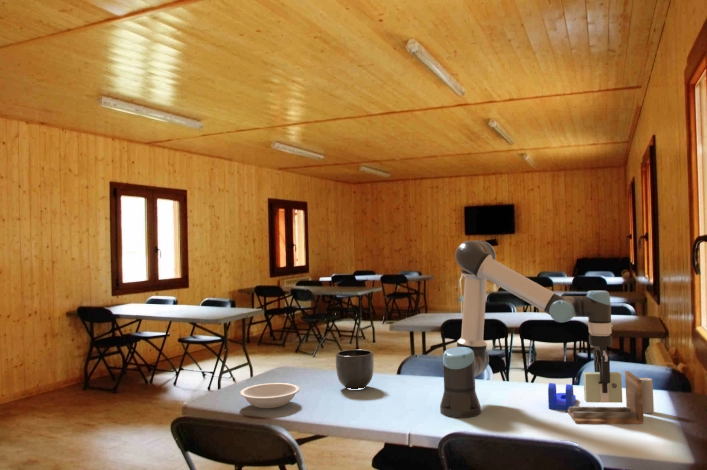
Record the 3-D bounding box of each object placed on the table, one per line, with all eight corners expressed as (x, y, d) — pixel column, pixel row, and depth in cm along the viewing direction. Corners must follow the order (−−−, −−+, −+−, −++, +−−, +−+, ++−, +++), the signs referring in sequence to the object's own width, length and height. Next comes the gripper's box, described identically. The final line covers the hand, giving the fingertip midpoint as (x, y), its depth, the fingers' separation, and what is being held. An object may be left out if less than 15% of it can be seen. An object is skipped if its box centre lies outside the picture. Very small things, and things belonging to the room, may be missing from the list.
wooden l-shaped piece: (575, 423, 199) (574, 379, 199) (567, 411, 212) (565, 371, 213) (643, 424, 195) (641, 380, 195) (630, 412, 209) (628, 371, 209)
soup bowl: (228, 408, 232) (228, 391, 232) (274, 395, 250) (274, 380, 250) (265, 418, 216) (265, 401, 216) (312, 404, 234) (311, 388, 234)
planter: (375, 392, 249) (373, 355, 249) (335, 393, 249) (334, 357, 249) (374, 383, 266) (373, 348, 266) (337, 384, 266) (336, 349, 266)
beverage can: (648, 414, 206) (646, 381, 206) (636, 411, 210) (634, 378, 210) (656, 412, 208) (655, 379, 208) (644, 409, 212) (643, 376, 212)
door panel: (587, 402, 203) (585, 374, 203) (584, 400, 206) (583, 372, 206) (622, 402, 201) (621, 374, 201) (619, 400, 204) (618, 372, 205)
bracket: (572, 411, 213) (571, 387, 213) (548, 409, 217) (547, 385, 217) (576, 399, 229) (575, 376, 229) (554, 397, 233) (554, 375, 233)
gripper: (618, 337, 196) (621, 406, 195) (605, 330, 212) (607, 394, 211) (595, 337, 197) (598, 406, 196) (583, 330, 213) (586, 394, 212)
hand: (603, 400), depth 204 cm, fingers closed on door panel, 3 cm apart
